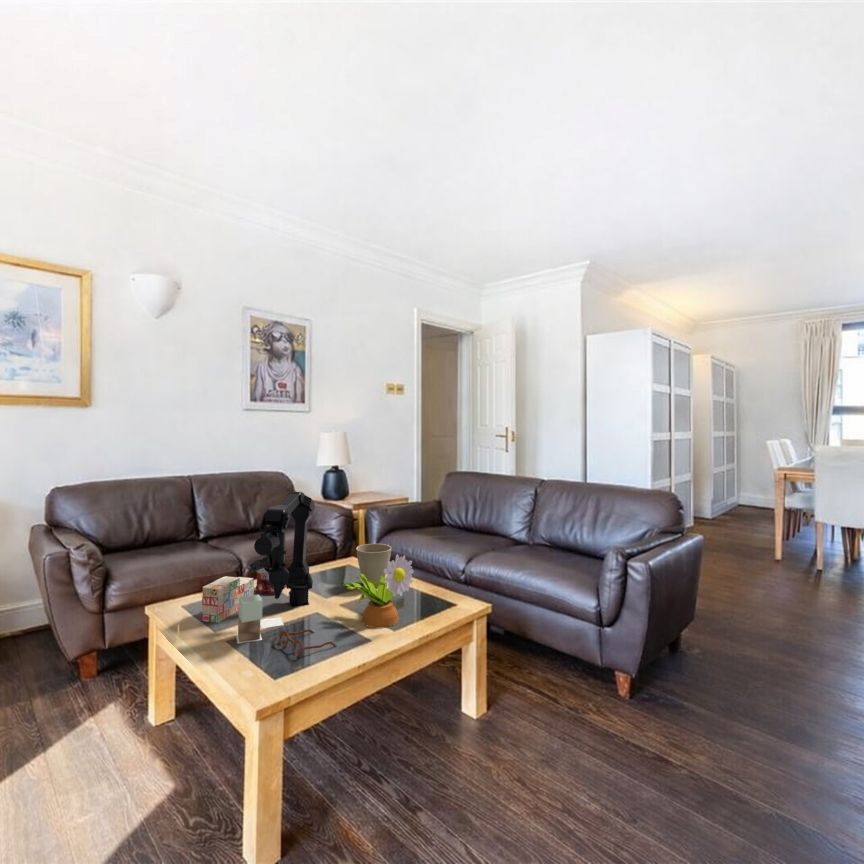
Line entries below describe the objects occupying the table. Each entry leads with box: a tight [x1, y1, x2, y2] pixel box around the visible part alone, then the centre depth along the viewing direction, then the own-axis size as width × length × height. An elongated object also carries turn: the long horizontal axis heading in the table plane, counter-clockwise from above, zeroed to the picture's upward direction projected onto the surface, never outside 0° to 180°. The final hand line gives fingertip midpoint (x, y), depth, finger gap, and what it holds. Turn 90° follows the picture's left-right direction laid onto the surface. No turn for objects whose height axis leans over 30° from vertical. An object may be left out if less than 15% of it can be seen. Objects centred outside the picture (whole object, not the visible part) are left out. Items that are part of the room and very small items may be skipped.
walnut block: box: [237, 615, 261, 643], centre depth 156 cm, size 6×6×6 cm
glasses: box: [278, 628, 337, 658], centre depth 152 cm, size 13×13×5 cm
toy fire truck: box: [255, 568, 287, 595], centre depth 199 cm, size 7×12×10 cm, turn 82°
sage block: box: [238, 594, 264, 623], centre depth 156 cm, size 6×6×6 cm
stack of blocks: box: [201, 575, 255, 624], centre depth 177 cm, size 21×6×12 cm, turn 168°
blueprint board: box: [235, 616, 285, 645], centre depth 160 cm, size 20×19×1 cm
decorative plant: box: [342, 553, 415, 628], centre depth 175 cm, size 27×24×25 cm
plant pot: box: [355, 543, 392, 588], centre depth 210 cm, size 15×15×16 cm
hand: (275, 593), depth 162 cm, fingers open, 9 cm apart
